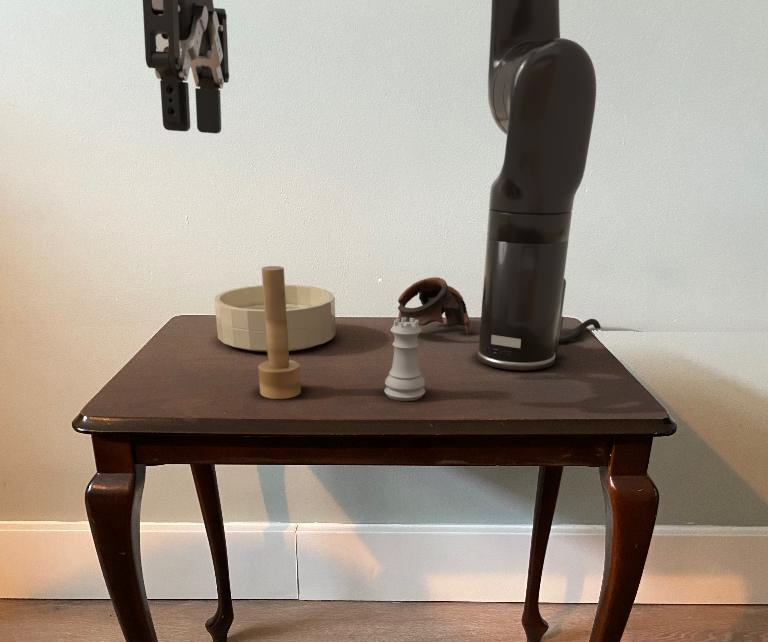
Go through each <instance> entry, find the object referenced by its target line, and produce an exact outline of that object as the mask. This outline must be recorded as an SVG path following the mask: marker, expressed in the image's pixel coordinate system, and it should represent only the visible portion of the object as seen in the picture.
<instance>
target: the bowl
mask: <svg viewBox="0 0 768 642" xmlns="http://www.w3.org/2000/svg"><path fill="white" fill-rule="evenodd" d="M285 296H286V314H287V332H288V350H289V352H295V351H300V350H301V351H302V350H306V349H310V348H313V347H316V346H320V345H323V344H325V343H327V342H329V341H331V340H333V338H334V337H335V336H336V333H337V331H336V298H335V295H334V293H333V292H331V291H329V290H327V289H324V288H321V287H315V286H311V285H310V286H309V285H301V284H285ZM213 302H214V312H215V322H216V329H217V331H216V332H217V338H218V340H219V341H220V342H222V343H223V344H225V345H228V346H230V347H233V348H237V349H242V350H244V351H245V350H246V351H250V352H260V353H261V352H262V353H268V351H267V337H266V322H265V308H264V294H263V284H258V285H249V286H243V287H237V288H232V289H228V290H226V291H222V292H220V293H218V294H217V295H215V296H214V301H213Z"/></svg>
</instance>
